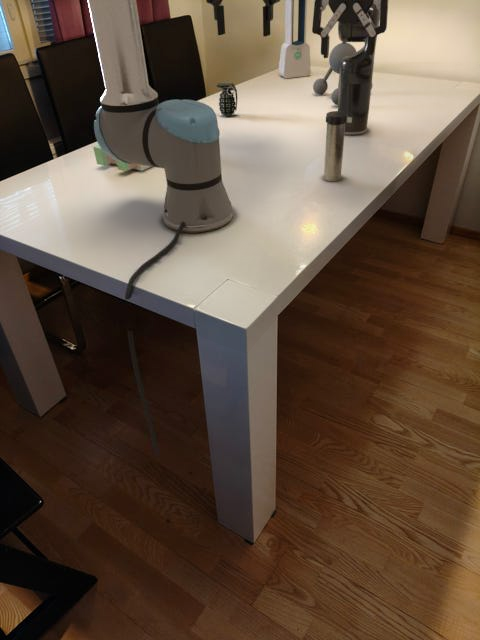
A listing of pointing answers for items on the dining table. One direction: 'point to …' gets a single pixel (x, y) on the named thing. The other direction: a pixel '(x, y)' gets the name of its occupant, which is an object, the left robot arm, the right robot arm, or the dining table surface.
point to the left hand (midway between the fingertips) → (243, 35)
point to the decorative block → (115, 161)
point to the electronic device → (295, 44)
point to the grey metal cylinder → (334, 152)
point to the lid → (336, 117)
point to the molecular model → (334, 69)
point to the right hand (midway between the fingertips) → (346, 57)
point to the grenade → (227, 99)
